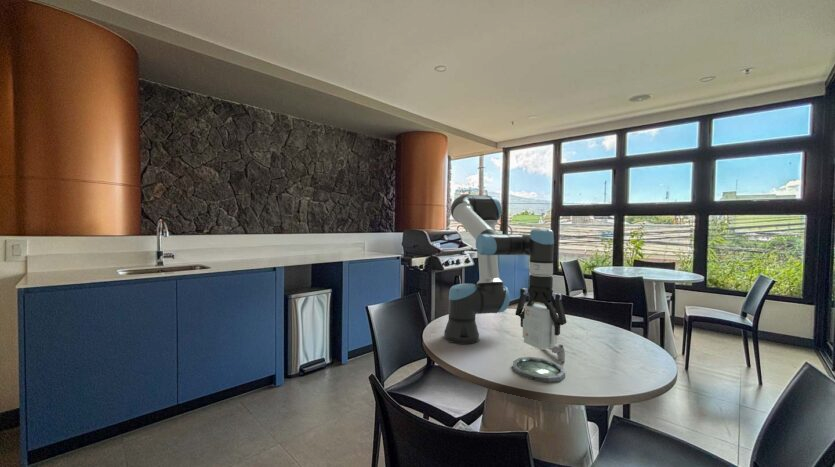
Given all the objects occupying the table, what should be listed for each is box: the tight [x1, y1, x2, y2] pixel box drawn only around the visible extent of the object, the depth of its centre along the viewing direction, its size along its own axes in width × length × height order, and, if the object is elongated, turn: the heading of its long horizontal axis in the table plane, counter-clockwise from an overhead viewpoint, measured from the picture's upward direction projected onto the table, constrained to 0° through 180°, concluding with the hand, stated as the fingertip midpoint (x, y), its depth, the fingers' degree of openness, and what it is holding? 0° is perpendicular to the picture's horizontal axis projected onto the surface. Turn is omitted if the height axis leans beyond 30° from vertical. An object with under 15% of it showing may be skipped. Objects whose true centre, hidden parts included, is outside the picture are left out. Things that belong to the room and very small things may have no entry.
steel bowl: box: [512, 356, 566, 384], centre depth 114 cm, size 16×16×2 cm
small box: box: [523, 303, 556, 351], centre depth 113 cm, size 8×6×13 cm
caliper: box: [549, 343, 566, 363], centre depth 132 cm, size 20×1×6 cm, turn 9°
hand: (539, 340), depth 113 cm, fingers closed on small box, 9 cm apart
